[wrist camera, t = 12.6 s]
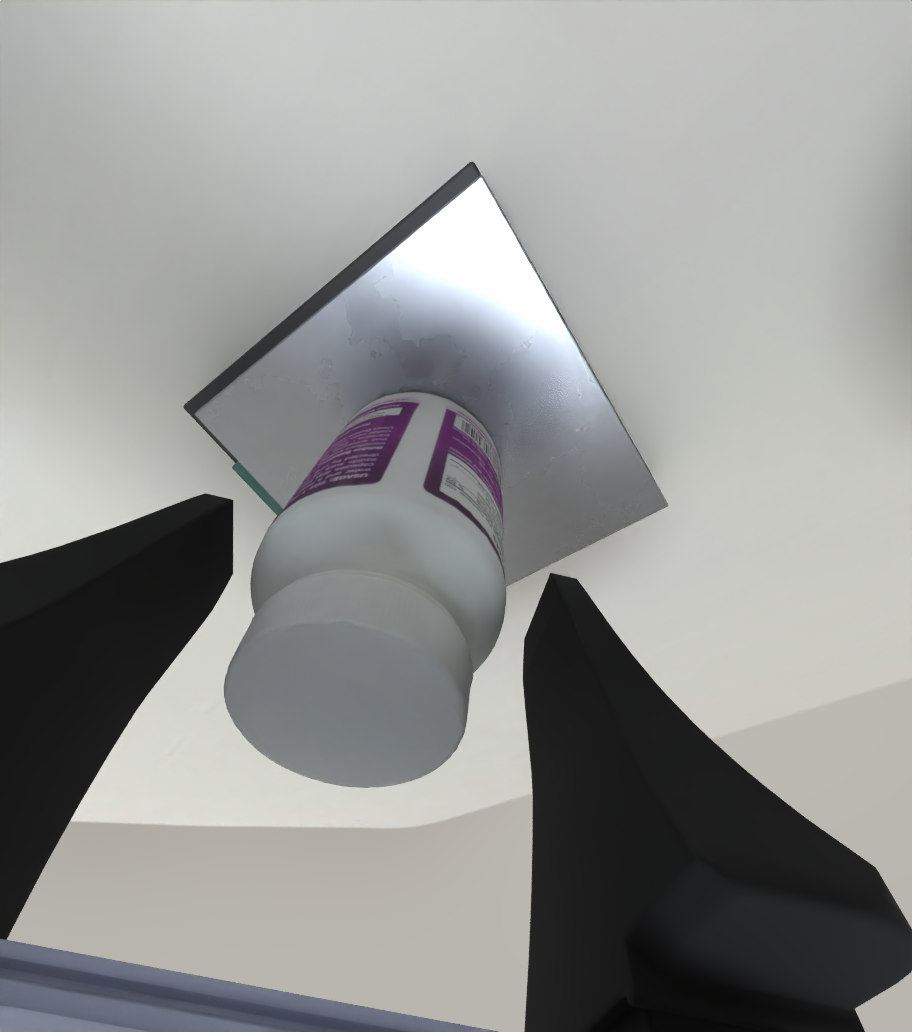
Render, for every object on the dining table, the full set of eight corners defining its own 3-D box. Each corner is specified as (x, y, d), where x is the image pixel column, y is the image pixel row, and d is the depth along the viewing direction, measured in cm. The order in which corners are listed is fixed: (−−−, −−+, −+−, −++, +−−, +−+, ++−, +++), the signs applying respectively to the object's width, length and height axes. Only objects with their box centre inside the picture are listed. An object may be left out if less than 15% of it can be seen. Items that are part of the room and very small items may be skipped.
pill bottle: (338, 527, 18) (196, 792, 10) (338, 377, 15) (142, 559, 7) (490, 548, 18) (483, 832, 9) (516, 401, 15) (539, 614, 7)
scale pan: (406, 627, 21) (403, 637, 20) (202, 408, 17) (192, 414, 16) (664, 497, 17) (669, 506, 17) (482, 176, 13) (481, 174, 13)
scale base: (404, 607, 23) (394, 645, 21) (207, 392, 19) (171, 412, 17) (651, 478, 19) (670, 508, 17) (475, 166, 15) (471, 156, 13)
